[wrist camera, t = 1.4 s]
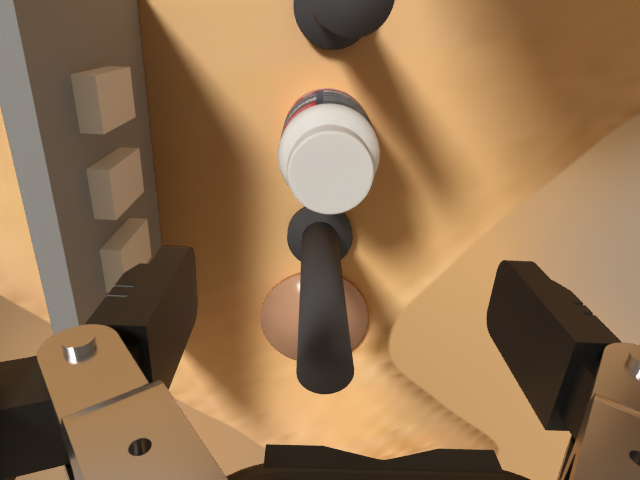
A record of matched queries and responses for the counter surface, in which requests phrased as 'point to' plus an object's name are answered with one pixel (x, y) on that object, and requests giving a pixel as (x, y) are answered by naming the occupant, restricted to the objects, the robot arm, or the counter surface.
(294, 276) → the coaster
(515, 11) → the counter surface
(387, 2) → the post
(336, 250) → the post
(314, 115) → the pill bottle
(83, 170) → the panel
